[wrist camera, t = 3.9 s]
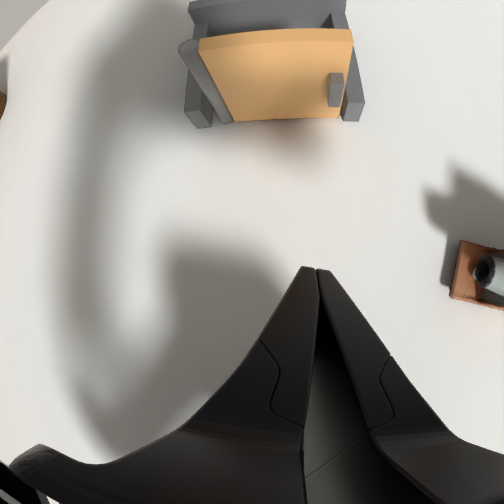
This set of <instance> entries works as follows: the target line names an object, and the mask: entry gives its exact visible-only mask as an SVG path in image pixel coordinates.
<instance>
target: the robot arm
mask: <svg viewBox="0 0 504 504" xmlns="http://www.w3.org/2000/svg"><path fill="white" fill-rule="evenodd" d="M46 496H48V497H50V498H51V499H53V500H55V501H57V502H59V504H504V454H501V453H497V452H494V451H491V450H488V449H486V448H483V447H480V446H477V445H474V444H471V443H469V442H466V441H464V440H462V439H460V438H458V437H457V436H456V435H454V434H453V433H452V432H451V431H450V430H449V429H448V428H447V427H446V426H445V424H444V423H443V422H442V421H441V419H440V418H439V417H438V416H437V414H436V413H435V412H434V411H433V409H432V408H431V407H430V406H429V404H428V403H427V402H426V401H425V400H424V398H423V397H422V396H421V395H420V393H419V392H418V391H417V390H416V388H415V387H414V386H413V385H412V383H411V382H410V381H409V379H408V378H407V377H406V375H405V374H404V372H403V371H402V370H401V368H400V367H399V365H398V364H397V363H396V361H395V360H394V358H393V357H392V356H390V353H389V351H388V350H387V348H386V347H385V345H384V344H383V343H382V341H381V340H380V338H379V337H378V335H377V334H376V333H375V331H374V330H373V328H372V327H371V326H370V324H369V323H368V321H367V320H366V319H365V317H364V316H363V314H362V313H361V312H360V310H359V309H358V308H357V306H356V305H355V304H354V302H353V301H352V299H351V298H350V297H349V295H348V294H347V293H346V291H345V290H344V289H343V287H342V286H341V285H340V283H339V282H338V281H337V279H336V278H335V277H334V275H333V274H332V273H331V272H330V271H329V270H323V269H316V270H315V269H314V268H311V267H305V266H301V267H300V269H299V271H298V272H297V274H296V276H295V277H294V279H293V281H292V283H291V284H290V286H289V288H288V289H287V291H286V293H285V294H284V296H283V298H282V299H281V301H280V303H279V304H278V306H277V308H276V309H275V311H274V313H273V314H272V316H271V318H270V319H269V321H268V322H267V324H266V326H265V327H264V329H263V331H262V332H261V334H260V335H259V337H258V339H257V340H256V341H255V343H254V345H253V346H252V348H251V349H250V351H249V352H248V354H247V355H246V357H245V358H244V359H243V361H242V362H241V364H240V365H239V366H238V367H237V369H236V370H235V371H234V372H233V373H232V375H231V376H230V377H229V378H228V379H227V380H226V381H225V383H224V384H223V385H222V386H221V387H220V388H219V389H218V390H217V391H216V392H215V393H214V394H213V395H212V396H211V397H210V399H209V400H208V401H207V402H206V403H205V404H204V405H203V406H202V407H201V408H200V409H199V410H198V411H197V412H196V413H195V414H194V415H193V416H192V417H191V418H190V419H189V420H187V421H186V422H185V423H184V424H183V425H181V426H180V427H179V428H177V429H176V430H174V431H173V432H171V433H169V434H167V435H165V436H163V437H161V438H160V439H158V440H156V441H154V442H152V443H150V444H148V445H146V446H144V447H142V448H140V449H138V450H136V451H134V452H132V453H130V454H128V455H126V456H124V457H121V458H119V459H117V460H115V461H112V462H109V463H105V464H86V463H83V462H79V461H77V460H75V459H72V458H70V457H68V456H66V455H64V454H62V453H60V452H58V451H56V450H54V449H52V448H50V447H48V446H45V445H43V444H37V445H36V446H34V447H32V448H31V449H29V450H27V451H25V452H24V453H22V454H21V455H19V456H18V457H17V458H15V459H14V460H13V461H12V463H11V464H10V465H9V466H8V465H6V464H5V463H3V462H2V461H1V460H0V504H50V503H49V501H48V499H47V497H46Z"/></svg>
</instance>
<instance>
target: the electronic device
mask: <svg viewBox="0 0 504 504" xmlns="http://www.w3.org/2000/svg"><path fill="white" fill-rule="evenodd" d="M449 296H450V298H451V299H457V300H462V301H466V302H471V303H475V304H478V305H482V306H487V307H490V308H495V309H499V310H503V311H504V250H499V249H496V248H490V247H484V246H481V245H478V244H474V243H470V242H468V241H463V240H461V241H460V242H459V252H458V258H457V262H456V268H455V274H454V278H453V283H452V287H451V290H450V293H449Z"/></svg>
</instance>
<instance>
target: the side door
mask: <svg viewBox="0 0 504 504" xmlns="http://www.w3.org/2000/svg"><path fill="white" fill-rule="evenodd" d="M353 43H354V42H353V38H352V34H351V30H350V29H327V28H301V29H277V30H263V31H252V32H242V33H234V34H227V35H220V36H213V37H207V38H202V39H200V41H199V42H198V41H197V40H194V39H191V40H187V41H185V42H183V43H182V44H181V45H180V46H179V48H178V52H179V54H180V55H181V57H182V59H183V60H184V62H185V63H186V65H187V66H188V68H189V70H190V71H191V73H192V74H193V76H194V78H195V79H196V81H197V82H198V84H199V86H200V87H201V89H202V90H203V92H204V94H205V95H206V97H207V99H208V100H209V102H210V104H211V105H212V107H213V108H214V110H215V112H216V113H217V115H218V117H219V118H220V120H221V122H223V123H225V124H228V123H231V122H232V121H233V120H234V121H235V122H239V121H252V120H267V119H290V118H339V114H340V109H341V105H342V100H343V95H344V90H345V85H346V80H347V75H348V70H349V65H350V59H351V54H352V48H353Z"/></svg>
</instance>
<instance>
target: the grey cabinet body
mask: <svg viewBox="0 0 504 504" xmlns="http://www.w3.org/2000/svg"><path fill="white" fill-rule="evenodd" d="M345 9H346V0H197V1H193V2H189V7H188V12H189V14H190V16H191V18H192V19H193V21H194V23H195V27H194V34H193V39H194V40H197V41H198V42H199V41H200V39H202V38H207V37H213V36H220V35H227V34H234V33H242V32H252V31H263V30H277V29H301V28H327V29H349V26H348V23H347V19H346V15H345ZM364 104H365V101H364V95H363V89H362V84H361V79H360V74H359V69H358V64H357V60H356V55H355V51H354V46H353V48H352V54H351V59H350V65H349V70H348V75H347V80H346V85H345V90H344V95H343V100H342V113H343V121H359V119H360V116H361V113H362V110H363V107H364ZM184 113H185V114H186V116H187V117H188V118H189V119H190V121H191V122H192V123H193V124H194V125H195V127H196V128H197V129H198V128H206V127H211V122H212V105H211V104H210V102H209V100H208V99H207V97H206V95H205V94H204V92H203V90H202V89H201V87H200V86H199V84H198V82H197V81H196V79H195V78H194V76H193V74H192V73H191V71H190V70H188V79H187V88H186V97H185V107H184Z"/></svg>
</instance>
